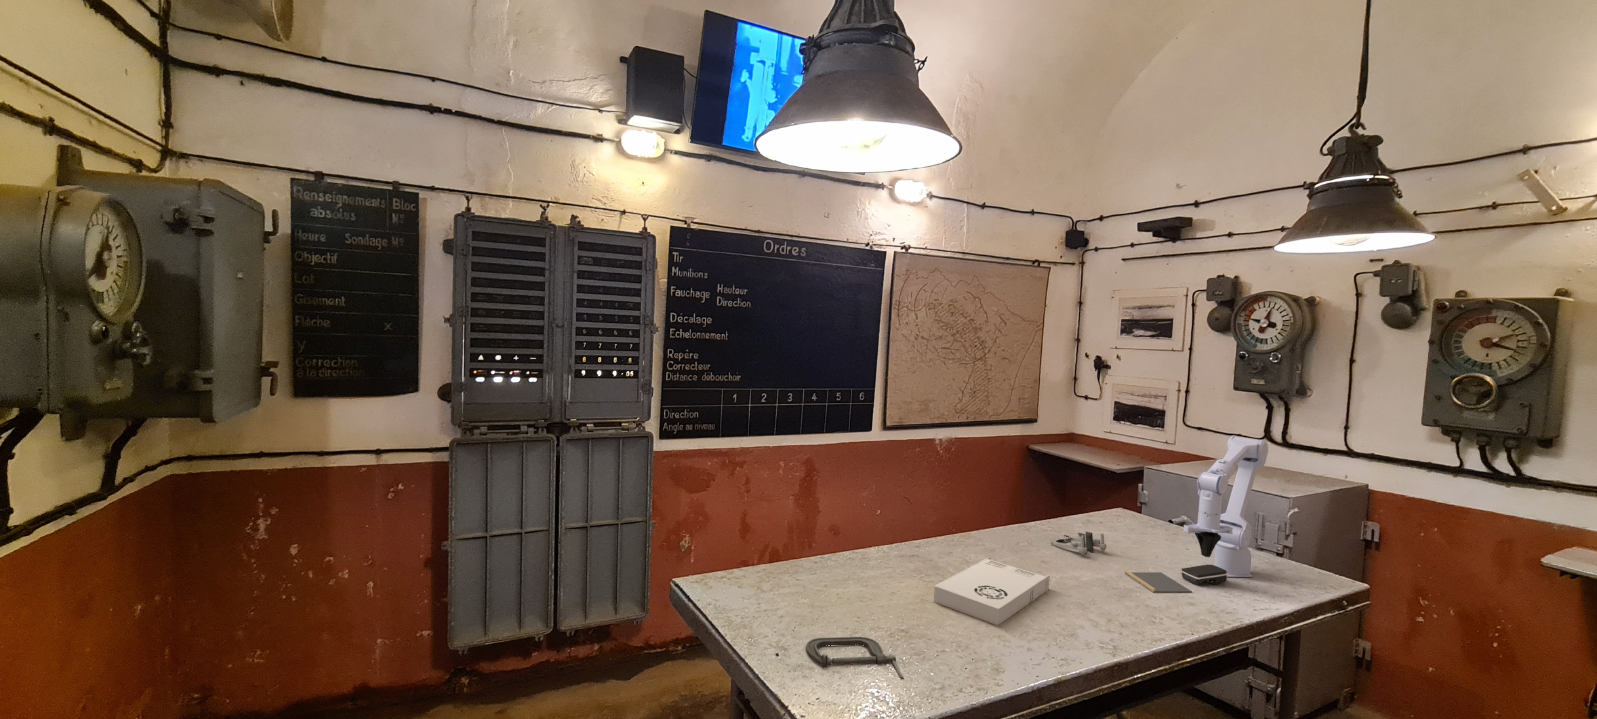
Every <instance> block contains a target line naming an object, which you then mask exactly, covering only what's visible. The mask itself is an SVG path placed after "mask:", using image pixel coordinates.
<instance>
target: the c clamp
mask: <svg viewBox="0 0 1597 719" xmlns="http://www.w3.org/2000/svg"><path fill="white" fill-rule="evenodd" d="M855 644H856V645H855ZM857 644H858V645H857ZM826 645H827V646H828V645H830V646H828V647H832V646H831V645H851V646H860V645H864V646H865V647H864V646H863V647H864V648H866V647H867V648H868V652H869V651H870V652H869V653H871V654H870V656H866V655H865V656H851V657H849V656H848V657H846V656H844V657H832V658H830V656H829V655H828V654H825V653H824V654H821V653H820V652H819V649H820V648H819V647H821V646H826ZM805 648H806V651H807V653H808V655H809V656H810V657H811V658H812V659H813V660H814V661H816V662H818V663H820V664H823V665H822V668H824V667H825V668H827V667H828V666H831V665H835V664H836V665H850V663H855V664H856V663H857V664H877V665H886V664H887V663H892V665H893V667H894V669H895V670H896V671H895V672H897V675H898V678H899V679H900V678H901V679H900V680H904V679H905V678H904V675H902V672H901V671H900V668H899V667H898V664H897V656H896V655H895V654H888V655H886V654H885V653H884V651H883V648H882V646H881V644H879V642H877V641H876V640H874V639H873V638H869V637H866V636H843V637H840V636H839V637H817V638H813V639H810V640H809V641H808V642H807V643H806V645H805ZM818 648H819V649H818ZM821 648H822V647H821ZM867 648H866V649H867ZM826 666H827V667H826Z"/></svg>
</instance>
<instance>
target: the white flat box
mask: <svg viewBox="0 0 1597 719" xmlns="http://www.w3.org/2000/svg"><path fill="white" fill-rule="evenodd" d="M1050 578H1051V576H1050V574H1047V575H1045V576H1044V575H1041V574H1038V573H1035V572H1031V571H1028V570H1024V569H1022V568H1018V567H1015V566H1012V565H1008V564H1005V563H1002V562H998V561H996V560H992V558H991V557H990V556H989V557H986V558H984V559H982V560H981V561H979V562H977V563H975V564H973V565H971V566H969V567H967V568H965V569H963V570H962V571H959V572H958V573H956V574H953V575H951V576H950V577H949V578H946V579H944V580H943V581H941V582H938V583H937V584H935V585H934V589H933V590H934V591H933V602H934V603H936V604H939V605H942V606H945V607H947V608H949V609H953V610H955V611H958V612H960V613H964V614H966V615H968V616H971V617H973V618H976V619H979V620H982V621H985V622H986V623H990V624H992V625H995V626H999V625H1001V624H1002V623H1003V622H1006V620H1008V619H1009V618H1010V617H1012V616H1013V615H1015V614H1016V613H1017V612H1019V611H1020V610H1022V609H1023V608H1024V607H1026V606H1027V605H1030V603H1032V602H1033V601H1036V599H1038V597H1040V596H1041V595H1042V594H1045V592H1047V591H1049V588H1050Z"/></svg>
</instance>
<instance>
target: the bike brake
mask: <svg viewBox="0 0 1597 719" xmlns="http://www.w3.org/2000/svg"><path fill="white" fill-rule="evenodd" d="M1104 534H1105V533H1100V538H1094V537H1093V532H1090V531H1085V533H1081V532H1077V537H1075V536H1071V537H1070V536H1068V535H1067V534H1065V535H1063V536H1064V538H1059V539H1058V540H1050V542H1049V543H1048V544H1050V545H1051V546H1055V547H1059V548H1060V547H1061V548H1064V549H1071V550H1076V551H1078V553H1080V554H1081V556H1085V555H1086V554H1087V552H1089V553H1092V554H1094V552H1095V551H1094V547H1096V548H1099V549H1100V551H1101V552H1105V551H1106V549H1107V547H1108V546H1107V543H1105V536H1104ZM1065 536H1066V537H1065ZM1067 537H1068V538H1067ZM1067 542H1068V543H1067ZM1069 542H1070V543H1069Z"/></svg>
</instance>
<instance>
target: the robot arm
mask: <svg viewBox="0 0 1597 719" xmlns="http://www.w3.org/2000/svg"><path fill="white" fill-rule="evenodd" d="M1226 449H1227V452H1226V453H1225V455H1224V457H1223V458H1219V459H1217V460H1216V461H1215V462H1214V463H1213V464H1212V466H1210V467H1209V469H1208V470H1207V471H1204V472H1200V473H1199V475H1198V476H1197V480H1196V486H1197V487H1196V488H1197V495H1198V496H1199V499H1198V500H1199V501H1198V513H1197V522H1196V523H1194V524H1186V525H1185V524H1183V532H1185V533H1186V534H1194V535H1195V538H1196V539H1197V541H1198V544H1199V548H1200V552H1201V556H1203V557H1205V558H1211V556H1212V553H1213V551H1214V559H1213V560H1214V561H1213V565H1215V566H1217V567H1220V568H1222V569H1224V570H1226V571H1227V578H1253V575H1252V574H1251V566H1252V553H1251V550H1250V549H1249V548H1248V546H1249V545H1250V543H1251V540H1252V539H1251V538H1252V526H1251V524H1250V523H1249V522H1248V521H1247V520H1246V519H1245V518H1244V517H1245V515H1246V511H1247V506H1248V504H1249V499H1250V496H1251V492H1252V490H1253V486H1254V481H1255V478H1256V476H1257V472H1258V470H1259V469H1262V468H1264V467H1265V464H1266V463H1267V462H1266V461H1267V457H1268V454H1269V445H1268V442H1267V440H1265V439H1258V438H1252V437H1251V438H1250V437H1244V436H1240V435H1239V436H1238V435H1234V434H1233V435H1231V436H1230V437H1229V438H1228V440H1227V444H1226ZM1236 466H1237V467H1238V469H1236ZM1236 470H1237V471H1236ZM1235 472H1236V476H1235V480H1234V482H1233V486H1232V490H1231V493H1230V497H1229V500H1228V504H1227V508H1226V510H1225V512H1224V513H1222V502H1223V495H1224V494H1225V492H1226V490H1227V487H1228V485H1229V480H1230V479H1231V478H1232V477H1233V475H1234V474H1235Z"/></svg>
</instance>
